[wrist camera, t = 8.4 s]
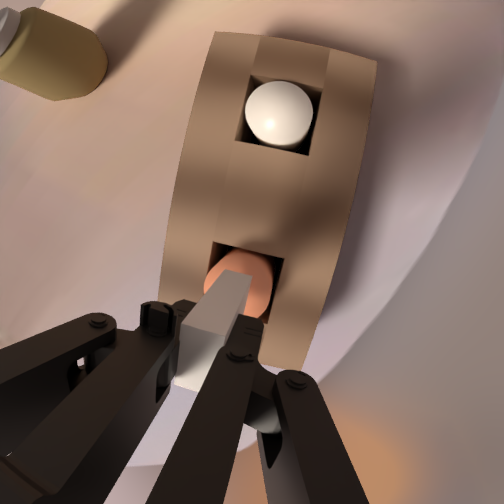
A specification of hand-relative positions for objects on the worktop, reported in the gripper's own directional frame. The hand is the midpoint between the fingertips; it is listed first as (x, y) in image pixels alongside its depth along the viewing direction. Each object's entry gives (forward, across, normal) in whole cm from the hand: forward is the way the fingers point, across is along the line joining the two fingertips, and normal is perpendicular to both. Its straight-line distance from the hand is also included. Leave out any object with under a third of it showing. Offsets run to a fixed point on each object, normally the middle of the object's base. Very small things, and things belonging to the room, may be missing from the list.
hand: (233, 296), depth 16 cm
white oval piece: (+9, 0, +10) cm, 14 cm away
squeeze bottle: (+10, -22, +15) cm, 28 cm away
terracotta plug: (+8, 0, 0) cm, 8 cm away
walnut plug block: (+9, 0, +5) cm, 10 cm away
